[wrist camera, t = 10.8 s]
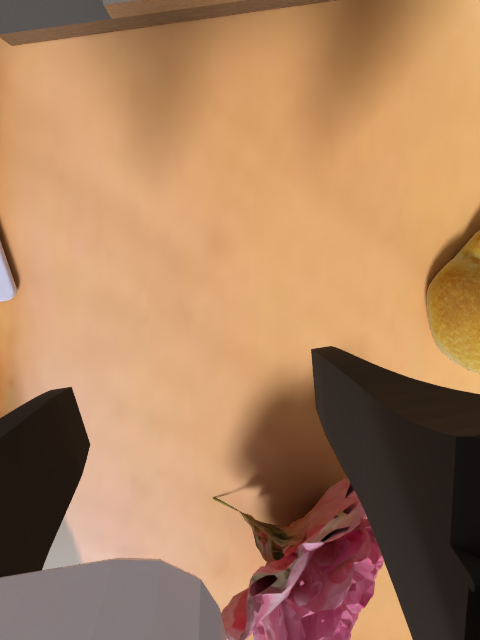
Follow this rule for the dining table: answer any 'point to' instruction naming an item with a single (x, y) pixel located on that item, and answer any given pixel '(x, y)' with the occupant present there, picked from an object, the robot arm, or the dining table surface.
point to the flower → (309, 573)
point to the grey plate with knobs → (113, 15)
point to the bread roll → (458, 307)
